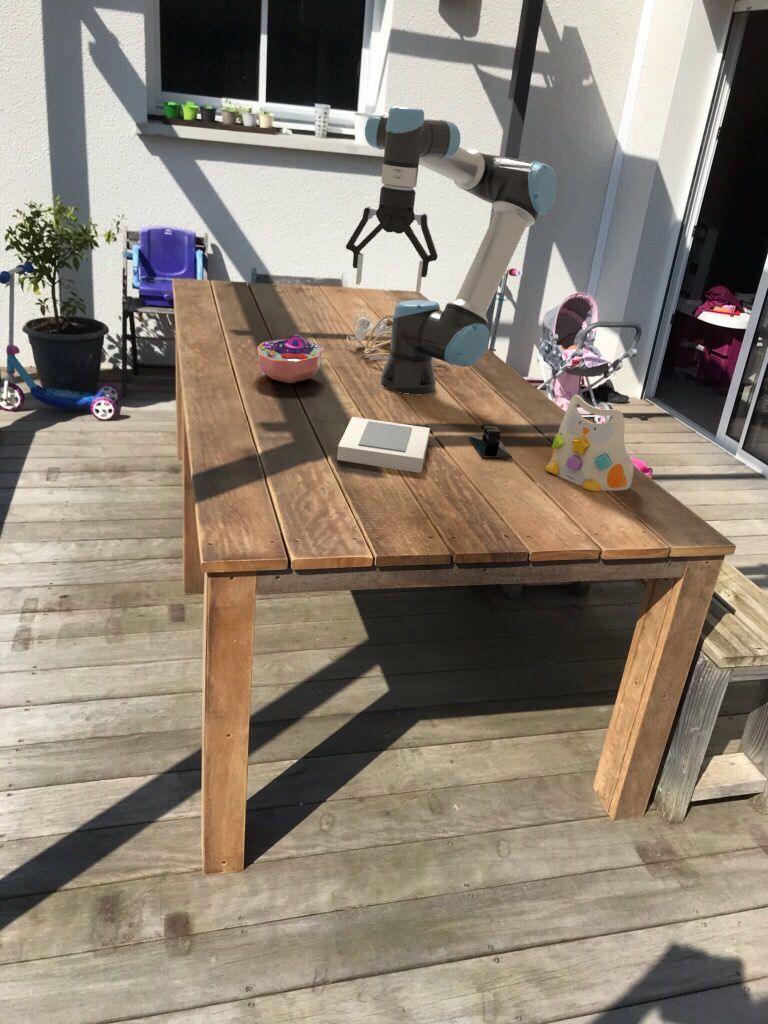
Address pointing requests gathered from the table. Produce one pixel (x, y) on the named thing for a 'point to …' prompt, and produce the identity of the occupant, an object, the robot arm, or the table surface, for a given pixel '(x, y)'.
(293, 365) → the cell model
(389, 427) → the plinth
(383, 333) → the plant holder
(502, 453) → the black stand
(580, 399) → the shape sorter
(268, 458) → the table surface
